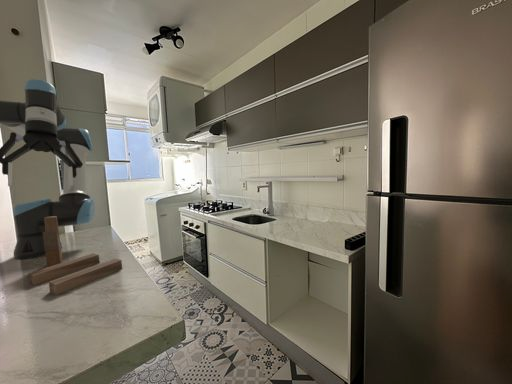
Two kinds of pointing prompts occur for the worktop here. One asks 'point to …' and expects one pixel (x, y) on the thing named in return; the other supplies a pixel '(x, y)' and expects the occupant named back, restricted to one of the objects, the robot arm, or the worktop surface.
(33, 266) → the worktop surface
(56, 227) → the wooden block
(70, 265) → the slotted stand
